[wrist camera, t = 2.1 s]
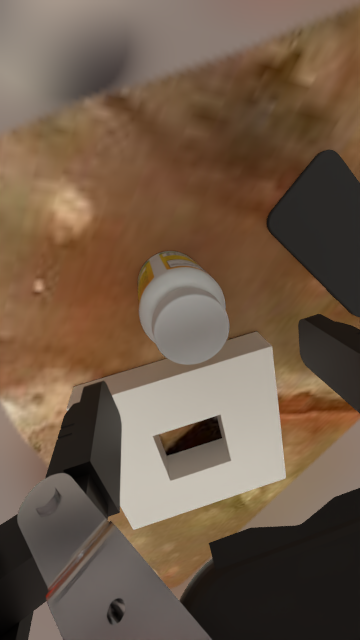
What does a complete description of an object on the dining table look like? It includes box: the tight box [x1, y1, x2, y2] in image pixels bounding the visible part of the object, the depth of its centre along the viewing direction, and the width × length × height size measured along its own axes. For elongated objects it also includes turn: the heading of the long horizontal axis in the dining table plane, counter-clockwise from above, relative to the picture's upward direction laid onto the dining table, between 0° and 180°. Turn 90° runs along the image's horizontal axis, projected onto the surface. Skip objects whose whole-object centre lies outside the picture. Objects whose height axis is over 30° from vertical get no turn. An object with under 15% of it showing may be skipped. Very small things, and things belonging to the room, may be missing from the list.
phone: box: [267, 150, 360, 317], centre depth 24 cm, size 7×1×15 cm
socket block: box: [67, 331, 286, 530], centre depth 27 cm, size 18×18×3 cm
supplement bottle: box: [138, 251, 229, 365], centre depth 18 cm, size 5×5×10 cm
